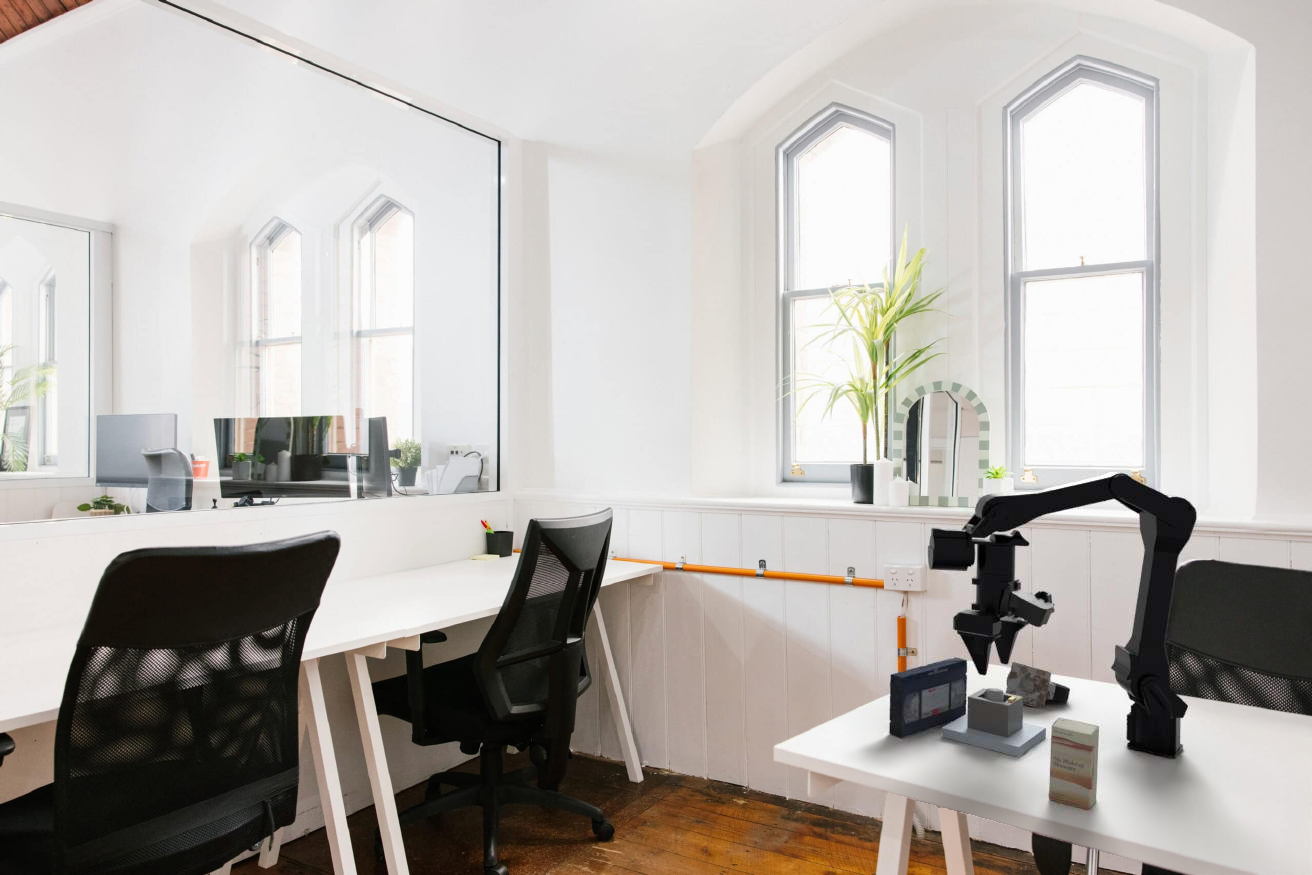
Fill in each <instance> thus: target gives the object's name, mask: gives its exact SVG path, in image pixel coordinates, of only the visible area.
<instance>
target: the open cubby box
mask: <svg viewBox="0 0 1312 875" xmlns="http://www.w3.org/2000/svg"><path fill="white" fill-rule="evenodd" d="M986 689H987V688H981V689H979V690H978V691H976V692H973V693H972V694H970V695H968V696H967V713H968V716H967V728H970V729H974V730H978V731H983V732H987V733H991V734H995V735H999V736H1003V737H1007V738H1008V737H1010V736H1011V735H1013V734H1014V733H1016V732H1017V731H1019V730H1020V729H1022V728H1023V722H1024V719H1023V718H1024V714H1023V713H1024V704H1023V697H1022V696H1017V695H1012V694H1008V693H1006V692H1003V702H999V701H994V700H990V699H985V698H984V691H985V690H986Z"/></svg>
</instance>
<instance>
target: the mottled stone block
mask: <svg viewBox="0 0 1312 875" xmlns="http://www.w3.org/2000/svg"><path fill="white" fill-rule="evenodd" d="M1011 663H1012V664H1011V667H1010V670H1009V673H1008V674H1007V677H1006V690H1005V693H1008V694H1012V695H1017V696H1022V697H1023V705H1027V706H1031V707H1034V708H1037V709H1044V708H1045V706H1046V700H1051V701H1053V700H1055V701H1058V702H1063V703H1068V701H1069V696H1070V692H1071V688H1070V687H1068V686H1065V685H1062V684H1059V683H1057V682H1053V681H1051V676H1052V673H1051V672H1050V671H1046V670H1044V669H1041V668H1036V667H1032V666H1031V665H1030V666H1029V665H1027V664H1022V663H1019V662H1016V661H1013V662H1011Z"/></svg>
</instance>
